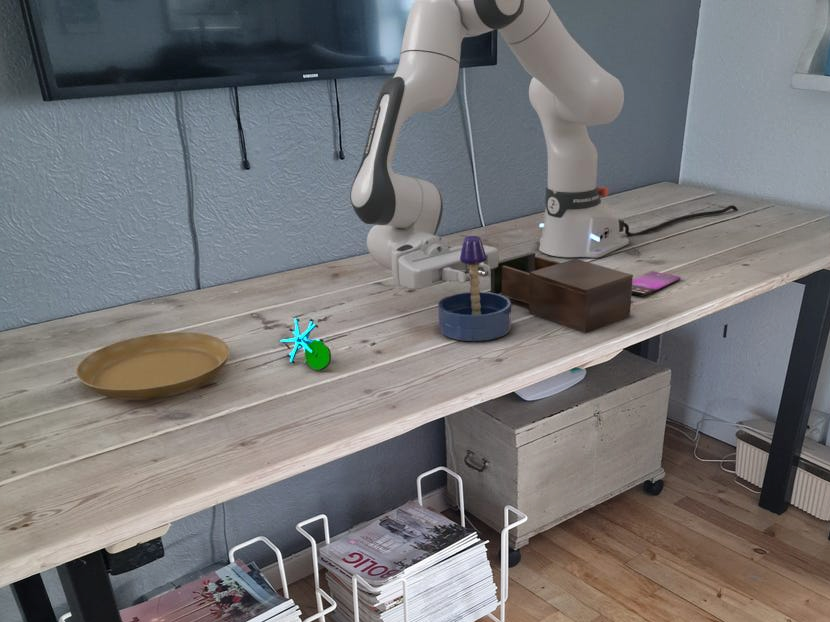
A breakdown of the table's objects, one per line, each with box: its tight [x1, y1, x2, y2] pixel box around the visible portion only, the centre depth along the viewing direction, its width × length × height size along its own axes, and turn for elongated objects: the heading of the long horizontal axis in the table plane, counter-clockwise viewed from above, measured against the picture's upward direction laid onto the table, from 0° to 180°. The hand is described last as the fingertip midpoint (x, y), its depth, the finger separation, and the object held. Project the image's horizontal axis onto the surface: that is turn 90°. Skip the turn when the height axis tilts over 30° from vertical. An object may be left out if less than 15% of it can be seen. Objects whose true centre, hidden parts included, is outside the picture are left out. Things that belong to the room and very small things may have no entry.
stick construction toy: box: [280, 317, 332, 371], centre depth 150 cm, size 12×7×8 cm
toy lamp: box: [460, 235, 486, 315], centre depth 158 cm, size 5×5×17 cm
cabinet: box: [528, 258, 634, 334], centre depth 166 cm, size 15×13×8 cm
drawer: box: [490, 251, 561, 305], centre depth 175 cm, size 18×11×6 cm, turn 41°
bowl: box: [437, 291, 512, 342], centre depth 161 cm, size 13×13×5 cm
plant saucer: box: [75, 331, 230, 401], centre depth 145 cm, size 24×24×3 cm
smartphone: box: [631, 270, 681, 297], centre depth 182 cm, size 7×15×1 cm, turn 140°
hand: (477, 274), depth 156 cm, fingers open, 3 cm apart
